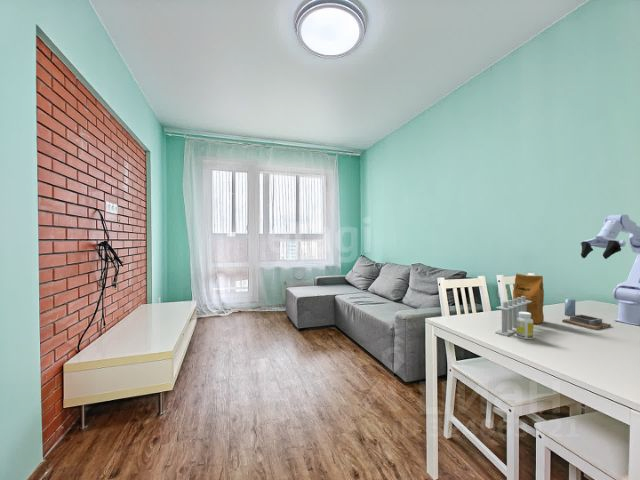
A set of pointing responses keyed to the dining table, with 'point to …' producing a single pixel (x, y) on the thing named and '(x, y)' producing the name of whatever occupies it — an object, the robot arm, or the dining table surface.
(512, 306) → the test tube rack
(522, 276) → the coffee package
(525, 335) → the supplement bottle
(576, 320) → the holder
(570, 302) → the tube
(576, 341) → the dining table surface
